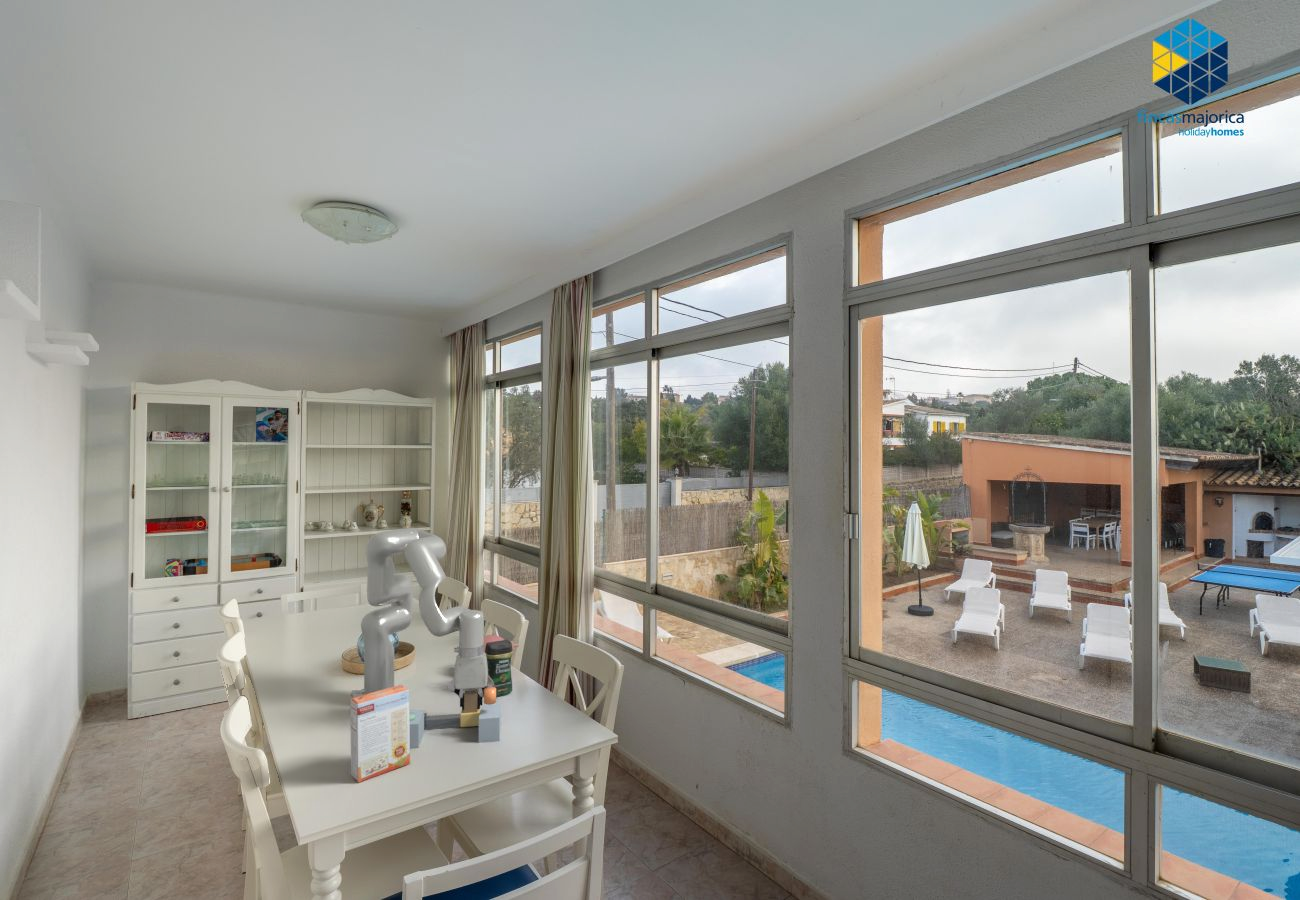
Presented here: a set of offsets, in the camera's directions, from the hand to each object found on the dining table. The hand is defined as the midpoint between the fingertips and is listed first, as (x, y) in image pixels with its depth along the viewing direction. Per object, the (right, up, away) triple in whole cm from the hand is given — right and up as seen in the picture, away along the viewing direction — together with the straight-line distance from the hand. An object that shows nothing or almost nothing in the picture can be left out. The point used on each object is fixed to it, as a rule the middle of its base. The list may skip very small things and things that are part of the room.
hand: (471, 707), depth 196 cm
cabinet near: (-15, -5, -11) cm, 20 cm away
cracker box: (-17, -6, -28) cm, 33 cm away
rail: (-5, -5, -1) cm, 7 cm away
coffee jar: (+3, -5, +25) cm, 26 cm away
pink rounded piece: (-3, -5, +43) cm, 44 cm away
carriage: (0, -5, 0) cm, 5 cm away
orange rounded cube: (+8, +5, -8) cm, 12 cm away
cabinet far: (+8, -5, -7) cm, 11 cm away
